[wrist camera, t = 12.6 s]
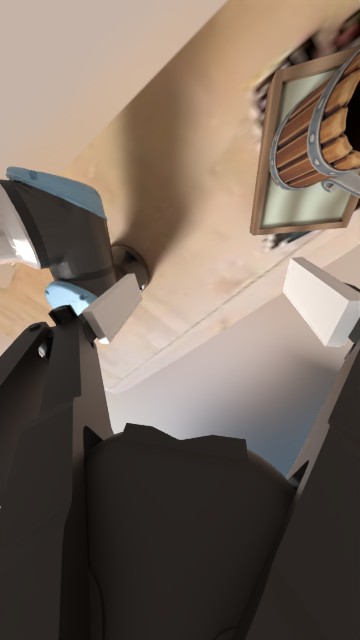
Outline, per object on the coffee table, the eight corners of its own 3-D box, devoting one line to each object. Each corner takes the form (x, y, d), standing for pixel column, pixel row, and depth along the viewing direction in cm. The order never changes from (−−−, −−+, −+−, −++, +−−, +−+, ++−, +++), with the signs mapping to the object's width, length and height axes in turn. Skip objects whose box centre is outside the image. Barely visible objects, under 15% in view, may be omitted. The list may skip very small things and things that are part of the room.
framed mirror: (249, 231, 37) (253, 235, 33) (267, 91, 26) (276, 70, 22) (331, 224, 33) (346, 227, 29) (394, 57, 22) (434, 23, 18)
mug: (253, 157, 26) (298, 112, 14) (321, 69, 21) (488, -124, 9) (303, 226, 31) (371, 238, 19) (370, 168, 26) (524, 131, 13)
